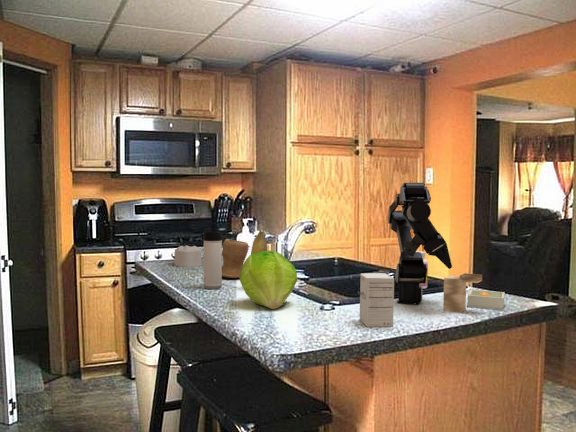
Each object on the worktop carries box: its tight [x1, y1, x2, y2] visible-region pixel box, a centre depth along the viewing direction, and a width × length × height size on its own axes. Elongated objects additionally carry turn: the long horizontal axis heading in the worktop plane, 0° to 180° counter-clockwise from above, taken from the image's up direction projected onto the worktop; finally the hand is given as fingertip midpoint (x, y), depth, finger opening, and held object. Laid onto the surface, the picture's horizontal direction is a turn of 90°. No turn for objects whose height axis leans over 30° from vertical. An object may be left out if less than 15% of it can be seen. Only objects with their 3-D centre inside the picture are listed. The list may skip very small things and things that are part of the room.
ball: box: [479, 292, 490, 297], centre depth 161 cm, size 3×3×3 cm
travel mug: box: [203, 231, 223, 290], centre depth 184 cm, size 6×7×20 cm
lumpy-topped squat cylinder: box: [174, 245, 202, 268], centre depth 239 cm, size 10×13×9 cm
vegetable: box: [250, 231, 268, 255], centre depth 183 cm, size 6×6×20 cm
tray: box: [466, 289, 506, 311], centre depth 160 cm, size 10×10×4 cm
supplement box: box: [359, 272, 395, 328], centre depth 137 cm, size 7×7×13 cm
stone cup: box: [222, 238, 249, 279], centre depth 207 cm, size 15×12×15 cm
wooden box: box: [442, 272, 483, 314], centre depth 152 cm, size 9×5×11 cm, turn 56°
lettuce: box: [239, 250, 298, 310], centre depth 158 cm, size 17×20×16 cm
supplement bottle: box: [416, 250, 429, 290], centre depth 188 cm, size 7×7×13 cm
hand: (449, 266), depth 156 cm, fingers open, 9 cm apart
